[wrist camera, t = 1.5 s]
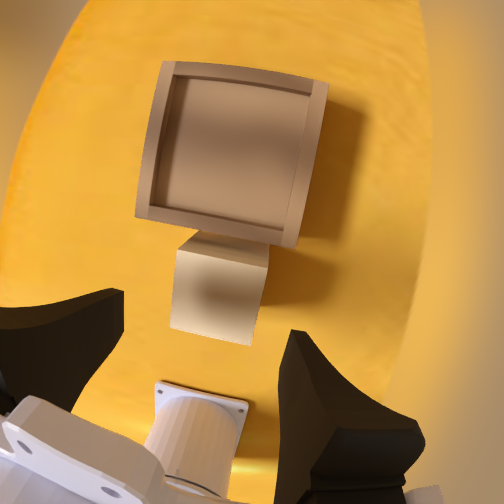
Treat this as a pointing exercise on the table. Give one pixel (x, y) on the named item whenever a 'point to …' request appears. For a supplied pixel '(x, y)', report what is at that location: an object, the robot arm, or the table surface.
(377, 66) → the table surface
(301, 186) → the tray
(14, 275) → the table surface
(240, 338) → the block
